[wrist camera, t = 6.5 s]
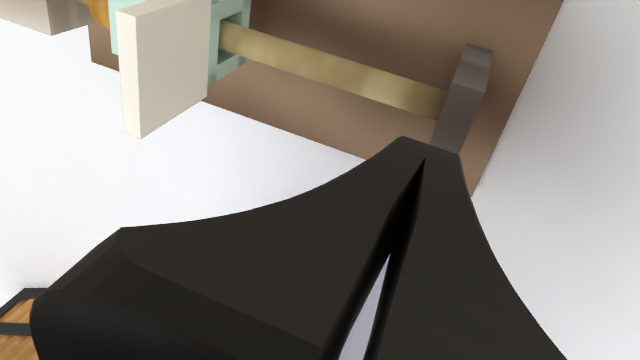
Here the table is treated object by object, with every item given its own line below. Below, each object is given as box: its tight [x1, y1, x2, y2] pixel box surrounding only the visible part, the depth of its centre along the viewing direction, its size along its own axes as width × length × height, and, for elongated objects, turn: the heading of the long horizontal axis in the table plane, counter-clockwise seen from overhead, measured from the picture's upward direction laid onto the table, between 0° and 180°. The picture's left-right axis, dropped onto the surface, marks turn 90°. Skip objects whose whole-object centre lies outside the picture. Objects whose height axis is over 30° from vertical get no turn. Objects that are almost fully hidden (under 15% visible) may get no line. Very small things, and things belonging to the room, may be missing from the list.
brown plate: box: [0, 0, 564, 197], centre depth 18 cm, size 10×20×6 cm, turn 79°
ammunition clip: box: [0, 288, 48, 360], centre depth 35 cm, size 11×2×12 cm, turn 110°
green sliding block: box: [108, 0, 251, 139], centre depth 16 cm, size 4×4×6 cm
